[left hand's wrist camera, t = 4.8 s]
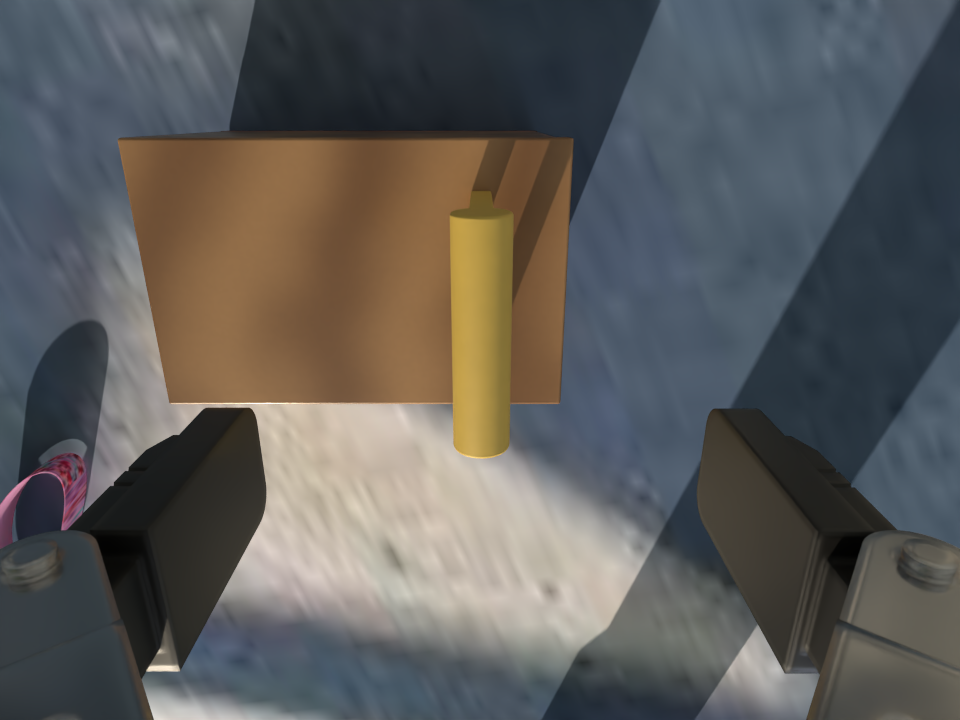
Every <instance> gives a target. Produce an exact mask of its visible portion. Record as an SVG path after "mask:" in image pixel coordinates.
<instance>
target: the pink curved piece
mask: <svg viewBox="0 0 960 720" xmlns="http://www.w3.org/2000/svg"><path fill="white" fill-rule="evenodd" d="M41 473H50V474H53V475H55V476H56V477H57V478H58V479H59V480H60V481H61V483H62V486H63V490H64V515H63V522H62V528H61V530H67V529H68V528H69V527H70V526H71V525H72V524H73V523H74V522H75V521H76V520H77V519H78V518H79V517H80V516H81V515H82V512H83V507H84V501H85V495H86V485H87V473H86V467H85V464H84V462H83V460H82V459H81V457H79V456H78V455H76V454H73V453H64V454H60V455H58V456H55V457H53V458H51V459H50V460H48V461H47V462H45V463H44V464H43V465H42V466H40V467H39V468H38V469H37V470H35V471H34V472H33V473H31V474H30V475H29V476H28V477H26V478H25V479H24V480H23V481H21V482H20V483H19V484H18V485H17V486H16V487H14V488H13V489H12V490H11V491H10V493H9V494H8V495H7V496H6V497H5V499H4V500H3V502H2V503H1V505H0V549H1V548H3V547H5V546H7V545H9V544H11V543H13V542H12V522H13V516H14V511H15V508H16V504H17V502H18V499H19V497H20V494H21V492H22V491H23V489H24V487H25V485H26V484H27V482H28V481H29V480H30V478H31V477H32V476H34V475H37V474H41Z"/></svg>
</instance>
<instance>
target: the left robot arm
mask: <svg viewBox="0 0 960 720" xmlns="http://www.w3.org/2000/svg"><path fill="white" fill-rule="evenodd" d="M697 503H698V510H699V514H700V517H701V520H702V522H703V524H704V526H705V528H706V530H707V532H708V534H709V535H710V537H711V539H712V541H713V543H714V545H715V546H716V548H717V550H718V552H719V554H720V556H721V557H722V559H723V561H724V563H725V565H726V567H727V568H728V570H729V572H730V574H731V576H732V577H733V579H734V581H735V583H736V585H737V587H738V588H739V590H740V592H741V594H742V596H743V598H744V599H745V601H746V603H747V605H748V607H749V609H750V610H751V612H752V614H753V616H754V618H755V620H756V621H757V623H758V625H759V627H760V629H761V631H762V632H763V634H764V636H765V638H766V640H767V641H768V643H769V645H770V647H771V649H772V651H773V652H774V654H775V656H776V658H777V660H778V662H779V663H780V665H781V667H782V669H783V671H784V673H819V674H820V677H819V680H818V683H817V687H816V690H815V693H814V696H813V699H812V703H811V706H810V709H809V712H808V716H807V719H806V720H960V549H959V548H957V547H955V546H953V545H951V544H949V543H946V542H944V541H942V540H939V539H936V538H933V537H930V536H927V535H923V534H919V533H914V532H909V531H901V530H897V529H896V528H895V527H894V526H893V525H892V524H891V523H890V522H889V521H888V520H887V519H886V518H885V517H884V516H883V515H882V514H881V513H880V512H879V511H878V510H877V509H876V508H875V507H874V506H873V505H872V504H871V503H870V502H869V501H868V500H867V499H866V498H865V497H864V496H863V495H862V494H861V493H860V492H859V491H858V490H857V489H856V488H851V484H850V483H849V482H848V481H847V480H846V479H845V478H844V477H843V476H842V475H841V474H840V473H839V472H836V469H835V468H834V467H833V466H832V465H831V464H830V463H829V462H828V461H827V460H826V459H825V458H824V457H823V456H822V455H821V454H820V453H819V452H818V451H817V450H815V449H813V448H811V447H809V446H808V445H806V444H804V443H802V442H800V441H799V440H797V439H795V438H793V437H791V436H785V435H784V434H783V433H782V432H781V431H780V430H779V429H778V428H777V427H776V426H775V425H774V424H773V423H772V422H771V421H770V420H769V419H768V418H767V417H766V416H765V414H764V413H763V412H762V411H760V410H759V409H713V410H712V411H711V412H710V414H709V416H708V419H707V423H706V430H705V437H704V443H703V450H702V457H701V464H700V471H699V478H698V485H697ZM265 504H266V482H265V475H264V468H263V461H262V454H261V447H260V440H259V433H258V426H257V420H256V416H255V414H254V412H253V410H252V409H251V408H205V409H203V410H202V411H201V412H200V413H199V414H198V415H197V417H196V418H195V419H194V420H193V421H192V422H191V423H190V424H189V425H188V426H187V427H186V428H185V429H184V430H183V431H182V432H181V434H180V435H173V436H171V437H169V438H167V439H165V440H164V441H162V442H160V443H158V444H156V445H154V446H153V447H151V448H149V449H147V450H146V451H145V452H144V453H143V454H142V455H141V456H140V457H139V458H138V459H137V460H136V461H135V462H134V463H133V464H132V465H131V466H130V467H129V471H125V472H124V473H123V474H122V475H121V476H120V477H119V478H118V479H117V480H116V481H115V482H114V486H110V487H109V488H108V489H107V490H106V491H105V492H104V493H103V494H102V495H101V496H100V497H99V498H98V499H97V500H96V501H95V502H94V503H93V504H92V505H91V506H90V507H89V508H88V509H87V510H86V511H85V512H84V513H83V514H82V515H81V516H80V517H79V518H78V519H77V520H76V521H75V522H74V523H73V524H72V525H71V526H70V527H69V528H68V529H67V530H59V531H51V532H46V533H41V534H37V535H33V536H30V537H27V538H24V539H21V540H18V541H16V542H14V543H11V544H9V545H7V546H5V547H3V548H1V549H0V720H154V719H153V716H152V712H151V709H150V706H149V703H148V700H147V696H146V693H145V690H144V687H143V683H142V680H141V679H142V677H143V676H144V674H145V672H146V671H180V670H181V668H182V666H183V665H184V663H185V661H186V659H187V657H188V655H189V654H190V652H191V650H192V648H193V646H194V644H195V642H196V641H197V639H198V637H199V635H200V633H201V631H202V629H203V628H204V626H205V624H206V622H207V620H208V618H209V616H210V615H211V613H212V611H213V609H214V607H215V605H216V604H217V602H218V600H219V598H220V596H221V594H222V592H223V591H224V589H225V587H226V585H227V583H228V581H229V579H230V578H231V576H232V574H233V572H234V570H235V568H236V567H237V565H238V563H239V561H240V559H241V557H242V555H243V554H244V552H245V550H246V548H247V546H248V544H249V542H250V541H251V539H252V537H253V535H254V533H255V531H256V529H257V528H258V526H259V524H260V522H261V520H262V517H263V514H264V510H265Z"/></svg>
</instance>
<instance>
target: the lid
mask: <svg viewBox="0 0 960 720" xmlns="http://www.w3.org/2000/svg"><path fill="white" fill-rule="evenodd" d="M573 142H574V140H573V138H570V137H125V138H119V139H118V144H119V149H120V154H121V159H122V164H123V169H124V174H125V179H126V184H127V190H128V195H129V200H130V205H131V210H132V215H133V220H134V225H135V230H136V235H137V240H138V245H139V250H140V255H141V260H142V266H143V271H144V276H145V281H146V286H147V291H148V296H149V301H150V306H151V311H152V316H153V321H154V326H155V331H156V336H157V342H158V347H159V352H160V357H161V362H162V367H163V372H164V377H165V382H166V387H167V392H168V397H169V402H170V404H453V435H454V447H455V449H456V450H457V451H458V452H459V453H461V454H463V455H465V456H468V457H472V458H491V457H495V456H498V455H500V454H502V453H504V452H505V451H506V450H507V448H508V447H509V433H510V404H559V403H560V397H561V378H562V358H563V339H564V319H565V299H566V280H567V260H568V240H569V221H570V201H571V181H572V162H573Z"/></svg>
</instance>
